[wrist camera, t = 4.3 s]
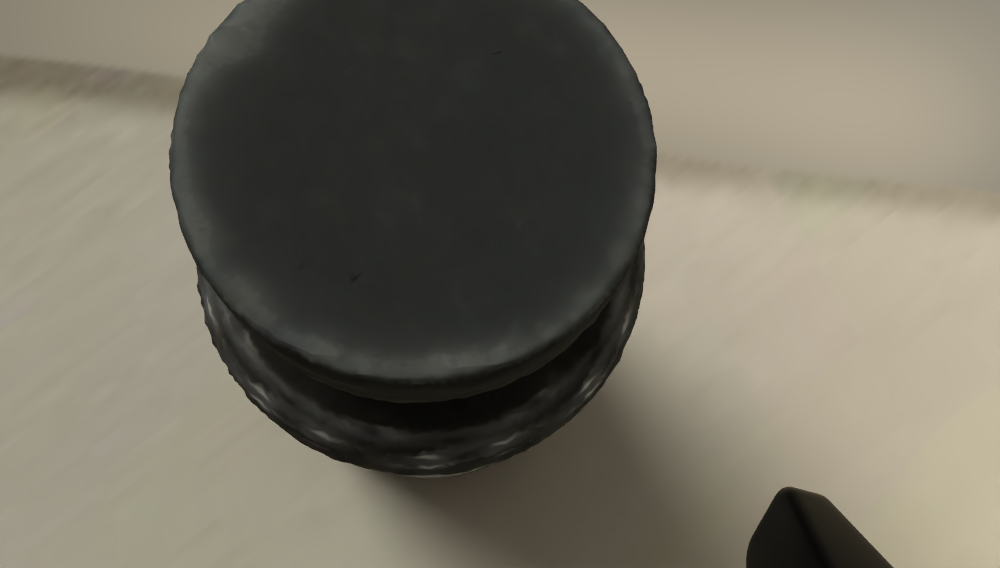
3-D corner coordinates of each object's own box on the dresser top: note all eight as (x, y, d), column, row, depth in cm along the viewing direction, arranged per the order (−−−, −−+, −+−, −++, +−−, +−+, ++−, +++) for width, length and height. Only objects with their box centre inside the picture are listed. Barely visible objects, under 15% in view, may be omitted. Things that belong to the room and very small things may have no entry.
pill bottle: (281, 255, 18) (49, -86, 7) (523, 204, 19) (629, -167, 8) (329, 512, 16) (124, 554, 6) (590, 445, 17) (826, 373, 7)
